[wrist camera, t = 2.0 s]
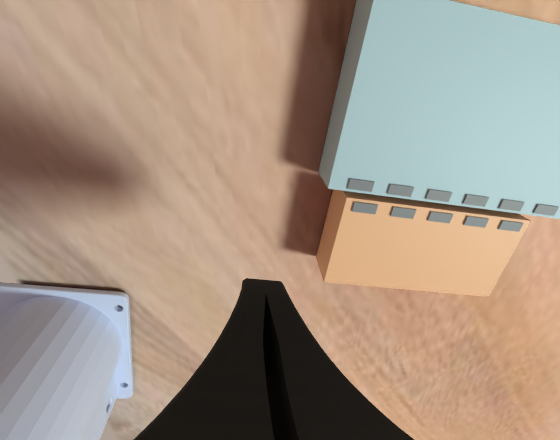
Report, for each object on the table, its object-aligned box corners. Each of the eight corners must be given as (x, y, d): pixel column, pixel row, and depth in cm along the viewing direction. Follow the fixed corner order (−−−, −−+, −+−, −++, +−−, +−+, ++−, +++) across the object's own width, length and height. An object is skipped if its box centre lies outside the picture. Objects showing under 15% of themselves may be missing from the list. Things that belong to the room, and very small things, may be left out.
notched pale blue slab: (529, 201, 19) (567, 220, 17) (318, 171, 17) (328, 189, 15) (610, 51, 16) (671, 50, 13) (357, -4, 14) (378, -17, 12)
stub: (464, 272, 21) (489, 297, 19) (316, 257, 20) (324, 283, 17) (499, 202, 19) (532, 221, 17) (335, 180, 18) (347, 198, 15)
